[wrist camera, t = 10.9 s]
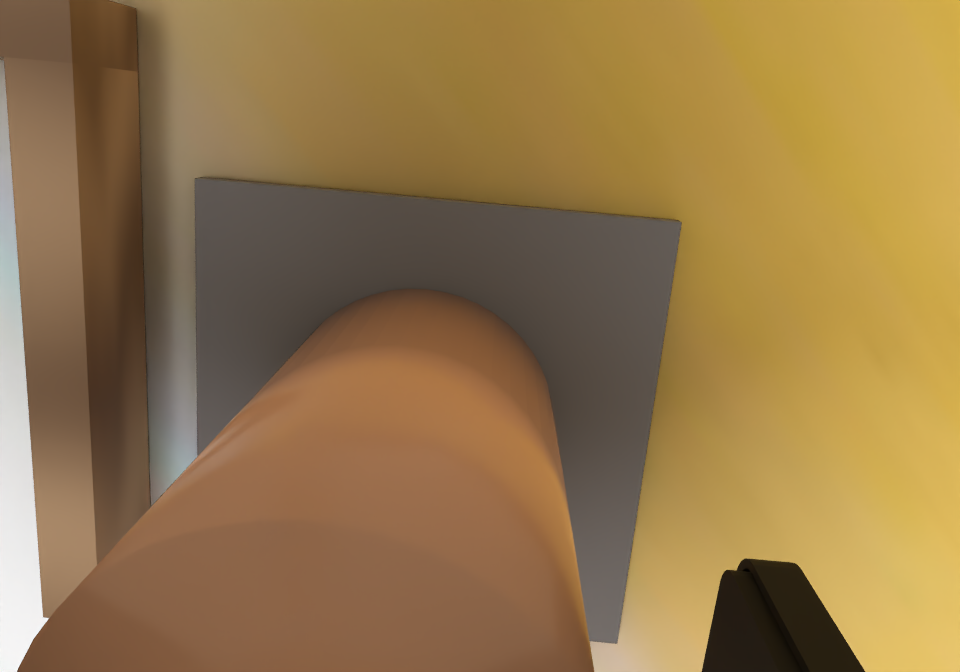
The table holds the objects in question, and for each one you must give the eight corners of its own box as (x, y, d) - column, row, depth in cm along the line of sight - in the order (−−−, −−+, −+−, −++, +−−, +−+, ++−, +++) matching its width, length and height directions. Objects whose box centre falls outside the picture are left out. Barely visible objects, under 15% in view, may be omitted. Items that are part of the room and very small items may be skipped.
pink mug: (284, 276, 17) (-22, 489, 7) (567, 302, 17) (651, 553, 7) (277, 624, 19) (37, 1147, 9) (527, 648, 19) (547, 1200, 9)
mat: (201, 176, 17) (194, 178, 16) (677, 219, 16) (681, 222, 16) (204, 593, 19) (198, 602, 19) (615, 633, 19) (617, 643, 19)
